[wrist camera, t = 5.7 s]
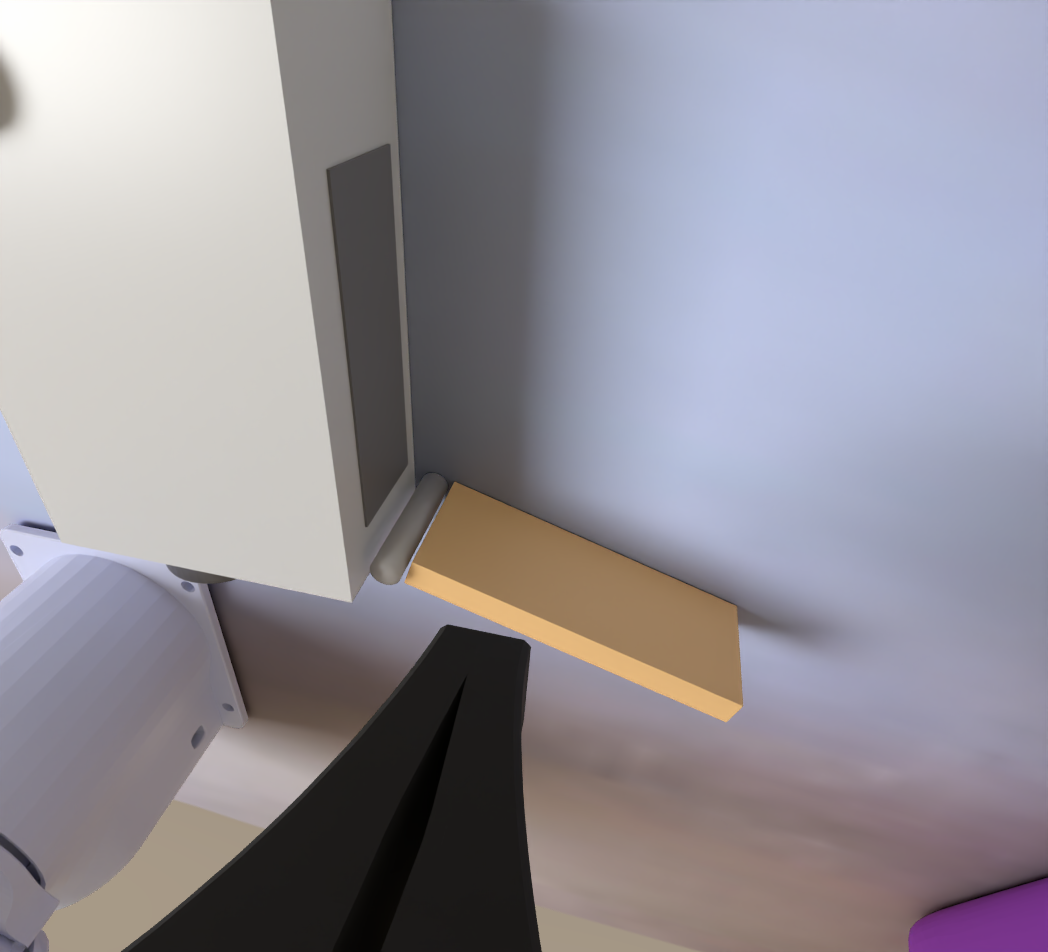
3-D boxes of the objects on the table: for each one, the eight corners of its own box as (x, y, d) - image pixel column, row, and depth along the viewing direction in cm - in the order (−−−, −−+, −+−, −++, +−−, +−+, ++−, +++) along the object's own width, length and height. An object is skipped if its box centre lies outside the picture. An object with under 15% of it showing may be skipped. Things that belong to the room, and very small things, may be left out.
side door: (418, 488, 20) (366, 576, 16) (425, 468, 19) (373, 555, 16) (722, 622, 20) (726, 732, 17) (736, 606, 19) (743, 716, 16)
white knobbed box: (419, 526, 20) (348, 654, 16) (181, 481, 22) (59, 591, 17) (390, -73, 12) (232, -117, 8) (8, -93, 13) (-300, -140, 9)
